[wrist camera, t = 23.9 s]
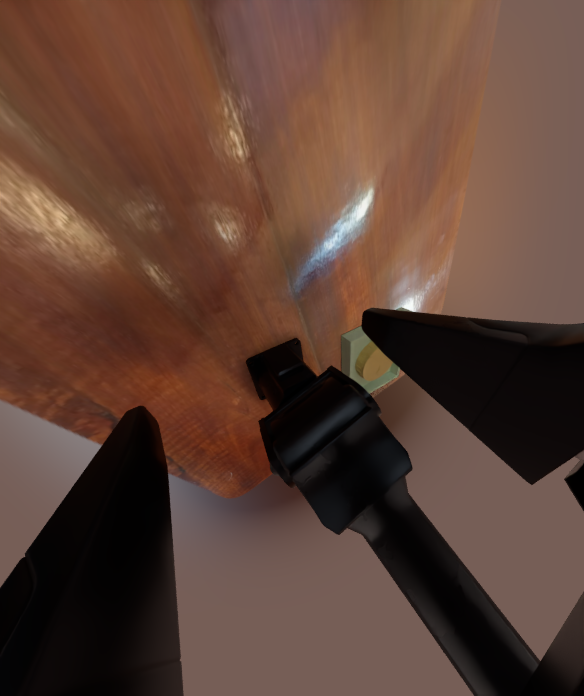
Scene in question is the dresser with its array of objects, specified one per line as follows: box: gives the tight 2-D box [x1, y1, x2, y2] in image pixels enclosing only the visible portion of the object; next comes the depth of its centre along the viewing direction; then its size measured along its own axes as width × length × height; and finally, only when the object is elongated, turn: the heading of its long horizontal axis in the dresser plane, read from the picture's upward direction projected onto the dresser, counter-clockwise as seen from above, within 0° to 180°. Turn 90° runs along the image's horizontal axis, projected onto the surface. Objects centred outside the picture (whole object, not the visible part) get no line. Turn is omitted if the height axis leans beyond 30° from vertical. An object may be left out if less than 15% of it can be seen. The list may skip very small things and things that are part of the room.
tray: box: [341, 307, 412, 394], centre depth 33 cm, size 13×11×2 cm
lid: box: [355, 341, 393, 381], centre depth 33 cm, size 7×7×2 cm
